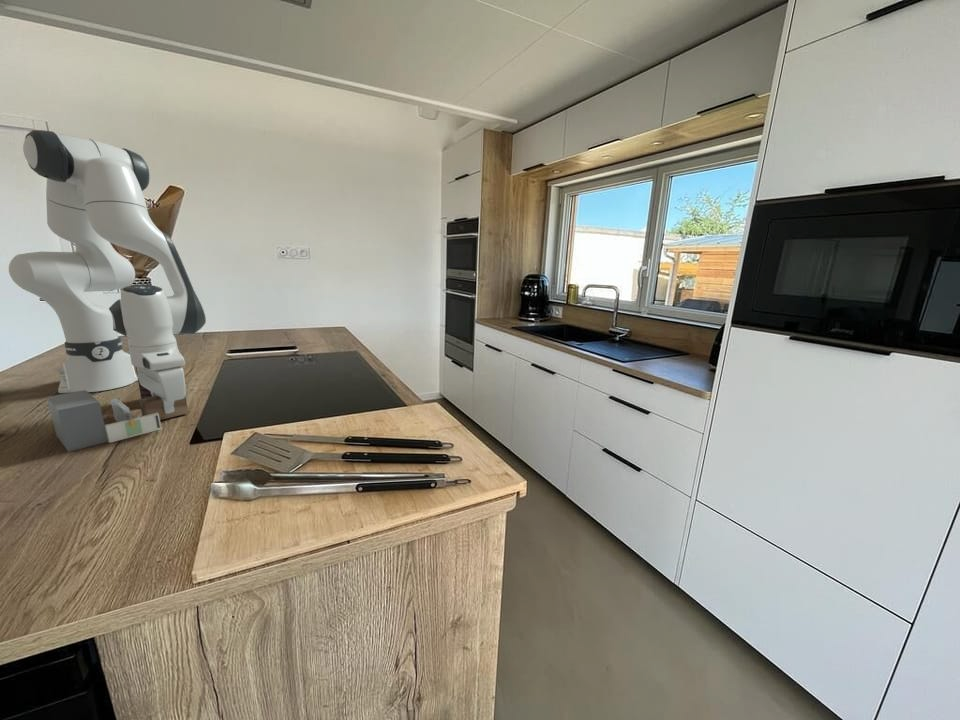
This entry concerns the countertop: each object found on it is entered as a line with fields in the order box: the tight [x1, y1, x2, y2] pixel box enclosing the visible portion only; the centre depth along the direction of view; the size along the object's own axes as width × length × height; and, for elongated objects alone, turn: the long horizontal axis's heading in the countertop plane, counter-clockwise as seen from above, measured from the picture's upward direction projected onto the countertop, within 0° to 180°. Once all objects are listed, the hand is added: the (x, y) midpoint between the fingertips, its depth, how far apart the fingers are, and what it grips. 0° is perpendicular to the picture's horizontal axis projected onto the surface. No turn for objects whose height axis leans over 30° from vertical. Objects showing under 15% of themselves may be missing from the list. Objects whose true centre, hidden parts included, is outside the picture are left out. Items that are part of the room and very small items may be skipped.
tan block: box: [139, 394, 189, 421], centre depth 95 cm, size 4×8×5 cm, turn 144°
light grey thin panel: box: [110, 398, 135, 426], centre depth 88 cm, size 13×1×5 cm, turn 54°
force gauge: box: [46, 390, 163, 453], centre depth 86 cm, size 13×15×9 cm
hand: (165, 409), depth 95 cm, fingers closed on tan block, 4 cm apart
